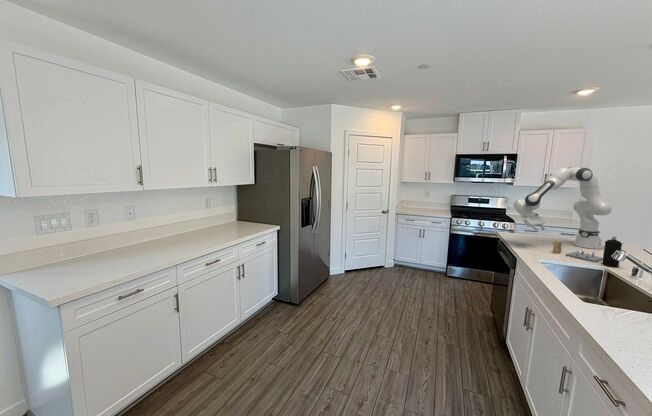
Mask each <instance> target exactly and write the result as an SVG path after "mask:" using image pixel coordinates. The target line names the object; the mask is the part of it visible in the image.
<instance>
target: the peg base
mask: <svg viewBox="0 0 652 416" xmlns="http://www.w3.org/2000/svg"><path fill="white" fill-rule="evenodd" d="M595 253H596V252H595V251H591V254H590V252H586V253H585V249H583V248H582V249H581V252H580V251H579V250H576V251H573V252H569V253H566V254H565V257H568V256H569V257H568V258H573V259H578V260H582V261H587V262H590V261H591V263H594V262H596V263H599V261H600V262H603V261H602V260H603V257H602V256H597V255H595Z"/></svg>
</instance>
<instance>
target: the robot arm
mask: <svg viewBox="0 0 652 416" xmlns="http://www.w3.org/2000/svg"><path fill="white" fill-rule="evenodd" d="M567 181H574V182H577V181H578V182H579V191H580V196H581V197H582V198H584V199H585V200H577V201H575V202H574V204H573V205H572V206H573V208H572V209H573V210H574V211H575V213H577V215H578V217H579V220H580V223H579V224H580V225H579V229H578V233H577V234H576V235H575V239H574V242H572V244H573V245H575V246H577V247H579V248H584V249H585V248H586V249H593V250H594V249H595V250H596V249H597V250H602V249H604V247H605V244H602V243H603V242H602V241H603V240H602V239H601V238H600V236H599V235H600V231H599V224H600V221H599V220H598V219H596V218H595V217H594V216H607V215H609V214H610V213H612V209H613V208H612V205H611V204H609V203H608V202H606V200H604V198H603V197H602V195H601V194H600V188H599V182H598V178H597V176H596V174H595V173H594V172H593V171H592V169H590V168H587V167H573V166H571V167H560V168H558V169H557V170H555V171H554V172H553V173H552V174H551V175H550V176H549V177H548V178H547V179H546V180H545V181H544V183H543V184H541V186H540V187H538V188H537V189H536V190H535V191H534V192H532V193H529V194H528V195H526V196H525V198H524V199H520V198H519V199H517V200H515V202H513V206H512V207H513V208H514V210H515V211H516V212H517V213H518V214H519V215H520V217H521V218H522V221H523V223H524V224H525V226H526V227H527V228H531V229H533V230H534V231H537V232H538V231H539V228H538V227H540V229H541V230H542V231H545V230H546V228H545V226H544V225H545V221H544V220H543V219H542V217H541V216H540V214H538V213H536V212H534V210H538V209H539V208H540V207H541V199H542V197H543V196H544V195H546V194H547V193H548V192H549V191H550V190H558V189H559V188H561V187H562V186H563V185H564V184H565V183H566V182H567Z"/></svg>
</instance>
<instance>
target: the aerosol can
mask: <svg viewBox="0 0 652 416" xmlns="http://www.w3.org/2000/svg"><path fill="white" fill-rule="evenodd" d="M604 246H605V247H604V248H603V255H602V256H603V257H602V258H603V261H601V265H602V264H603V265H602V266H606V267H609V268H620V261H617V260H615V259H613V258H612V257H611V255H612V254H613V253H614V252H615V251H616V250H621V251H622V246H623V243H622V242H621V241H619V240H617V236H611V239H607V240H605V241H604Z"/></svg>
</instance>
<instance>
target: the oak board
mask: <svg viewBox="0 0 652 416" xmlns="http://www.w3.org/2000/svg"><path fill="white" fill-rule="evenodd" d="M562 244H563V241H561V240H560V241H559V240H556V241H553V244H552V245H553V247H552V254H556V255H558V254H559V255H560V254H561V253H562V247H563V246H562Z"/></svg>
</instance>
